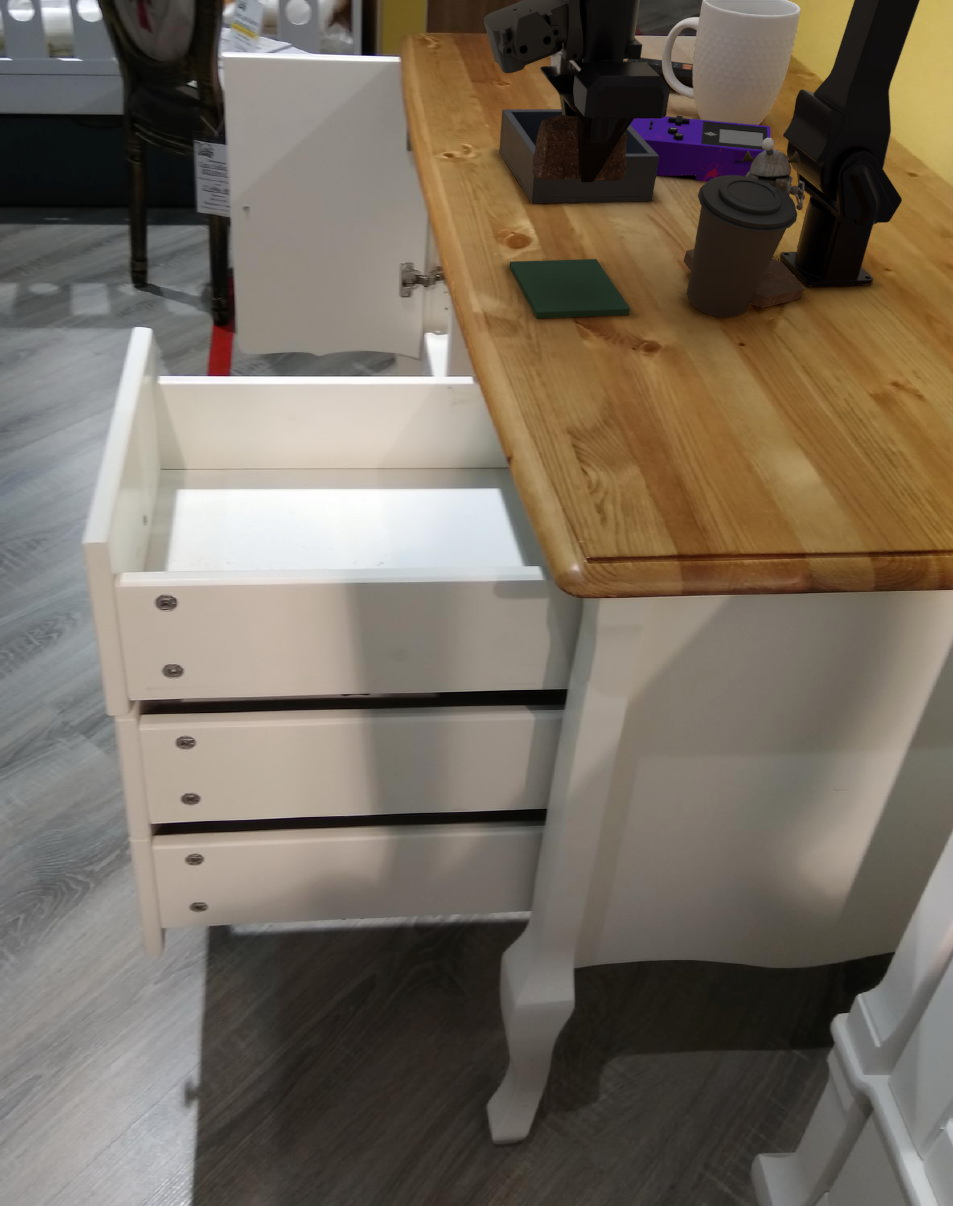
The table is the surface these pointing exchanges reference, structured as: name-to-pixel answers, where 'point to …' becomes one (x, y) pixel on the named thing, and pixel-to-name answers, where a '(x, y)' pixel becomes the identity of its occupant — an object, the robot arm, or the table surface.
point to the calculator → (679, 69)
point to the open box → (519, 154)
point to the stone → (570, 152)
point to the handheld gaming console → (701, 145)
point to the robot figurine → (777, 277)
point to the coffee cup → (735, 241)
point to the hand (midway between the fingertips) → (581, 174)
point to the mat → (568, 288)
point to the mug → (736, 57)
